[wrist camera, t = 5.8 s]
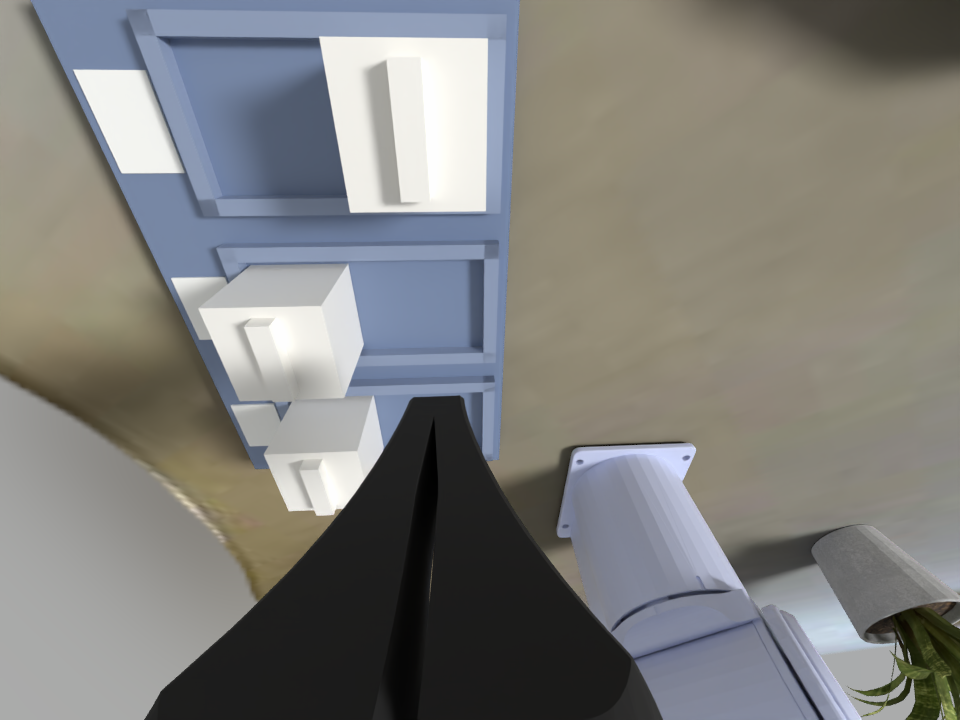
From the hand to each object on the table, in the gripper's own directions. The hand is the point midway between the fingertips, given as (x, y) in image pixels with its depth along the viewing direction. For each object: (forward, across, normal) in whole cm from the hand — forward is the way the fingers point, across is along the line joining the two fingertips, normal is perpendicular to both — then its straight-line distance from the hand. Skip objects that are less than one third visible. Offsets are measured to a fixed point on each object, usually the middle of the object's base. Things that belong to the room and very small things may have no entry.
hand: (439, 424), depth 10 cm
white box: (+8, 0, -6) cm, 11 cm away
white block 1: (+8, +6, 0) cm, 10 cm away
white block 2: (+8, +6, +8) cm, 13 cm away
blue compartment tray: (+9, +4, 0) cm, 10 cm away
